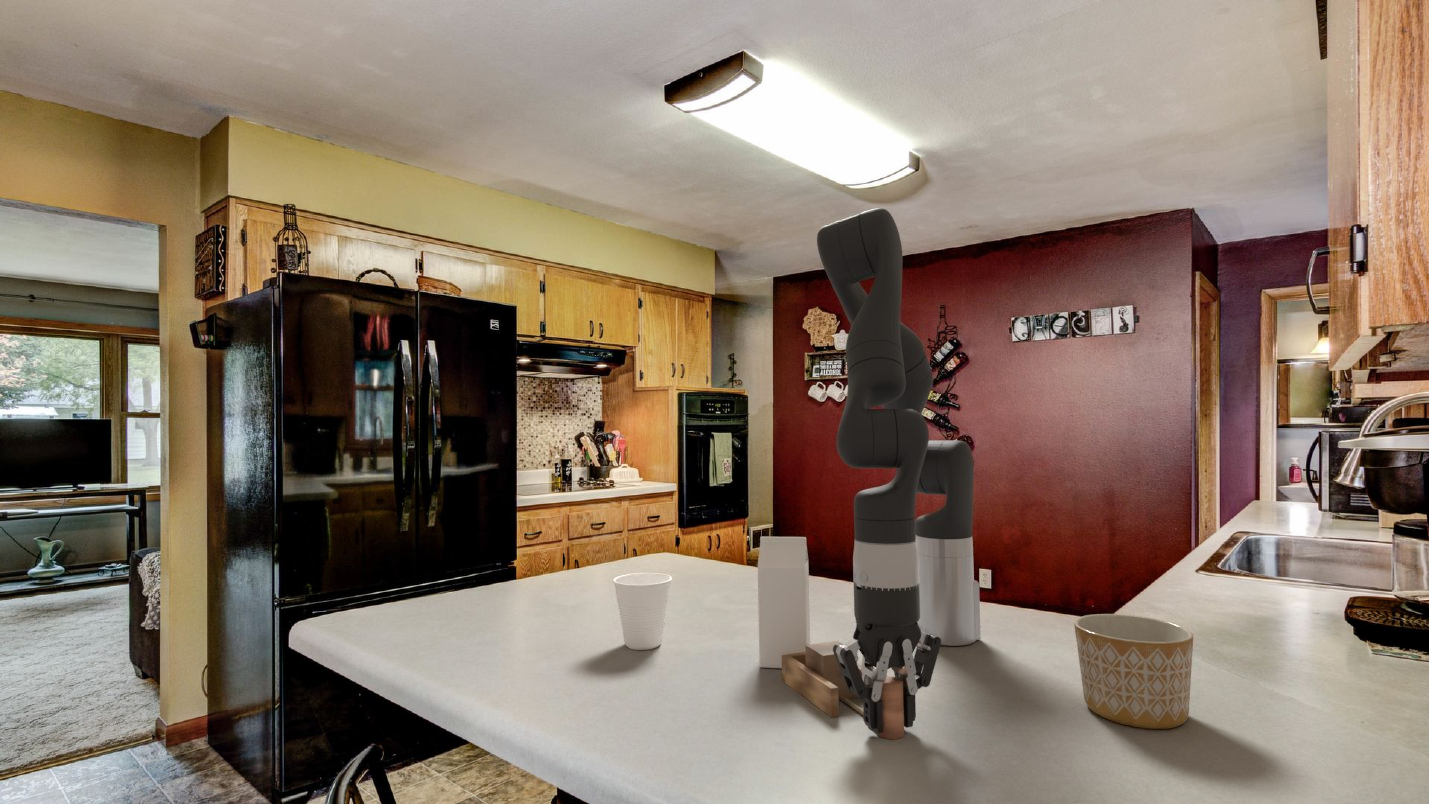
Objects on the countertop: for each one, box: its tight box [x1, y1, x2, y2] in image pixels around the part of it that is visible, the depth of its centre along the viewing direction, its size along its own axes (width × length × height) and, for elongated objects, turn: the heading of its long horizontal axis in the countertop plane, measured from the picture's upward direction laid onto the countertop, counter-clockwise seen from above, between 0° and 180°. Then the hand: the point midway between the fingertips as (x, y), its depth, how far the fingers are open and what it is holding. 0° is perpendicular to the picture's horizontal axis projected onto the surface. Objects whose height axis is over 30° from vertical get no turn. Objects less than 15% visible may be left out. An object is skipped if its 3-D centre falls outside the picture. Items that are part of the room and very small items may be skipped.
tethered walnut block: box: [805, 640, 905, 740], centre depth 88 cm, size 18×5×6 cm, turn 20°
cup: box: [612, 572, 673, 651], centre depth 117 cm, size 10×10×11 cm
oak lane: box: [781, 652, 862, 718], centre depth 94 cm, size 14×8×4 cm, turn 20°
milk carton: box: [757, 536, 811, 669], centre depth 108 cm, size 7×7×19 cm
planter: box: [1073, 613, 1194, 730], centre depth 86 cm, size 13×13×10 cm
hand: (889, 726), depth 81 cm, fingers open, 3 cm apart
